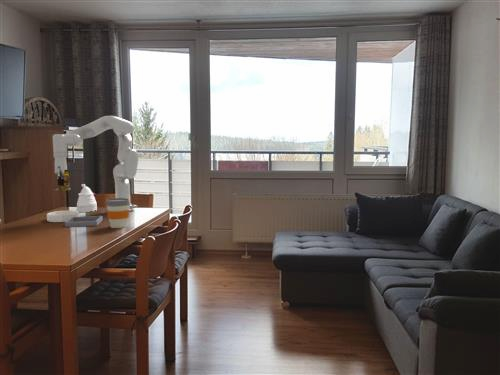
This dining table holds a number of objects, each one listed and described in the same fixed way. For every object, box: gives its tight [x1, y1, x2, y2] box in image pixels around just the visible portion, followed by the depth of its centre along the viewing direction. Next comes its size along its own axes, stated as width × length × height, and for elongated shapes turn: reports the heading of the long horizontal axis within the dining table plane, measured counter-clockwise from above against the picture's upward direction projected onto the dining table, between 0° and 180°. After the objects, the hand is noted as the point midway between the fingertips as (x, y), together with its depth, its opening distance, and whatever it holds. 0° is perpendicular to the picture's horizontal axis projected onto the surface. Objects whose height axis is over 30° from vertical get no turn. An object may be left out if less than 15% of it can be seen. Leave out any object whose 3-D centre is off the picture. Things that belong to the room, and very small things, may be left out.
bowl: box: [46, 210, 80, 223], centre depth 254 cm, size 17×17×4 cm
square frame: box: [64, 215, 104, 228], centre depth 241 cm, size 17×17×2 cm
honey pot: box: [76, 183, 98, 213], centre depth 286 cm, size 13×13×18 cm
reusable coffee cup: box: [105, 197, 131, 229], centre depth 231 cm, size 13×13×15 cm
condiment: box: [55, 169, 72, 191], centre depth 251 cm, size 7×8×12 cm
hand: (62, 184), depth 251 cm, fingers closed on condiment, 6 cm apart
